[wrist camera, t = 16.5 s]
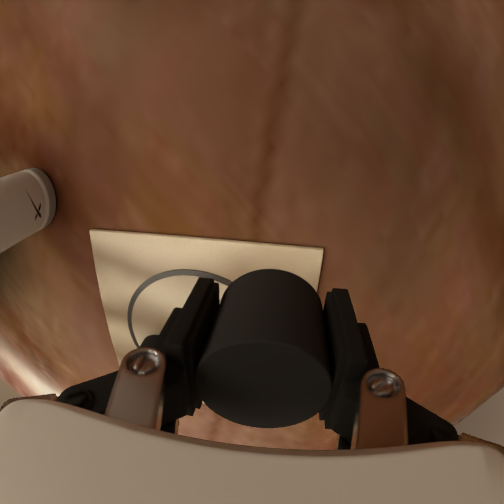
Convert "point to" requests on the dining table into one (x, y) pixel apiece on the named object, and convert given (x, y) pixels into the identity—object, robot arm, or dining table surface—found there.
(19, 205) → the travel mug
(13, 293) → the dining table surface
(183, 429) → the dining table surface
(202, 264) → the drawing board
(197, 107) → the dining table surface
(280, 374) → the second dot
